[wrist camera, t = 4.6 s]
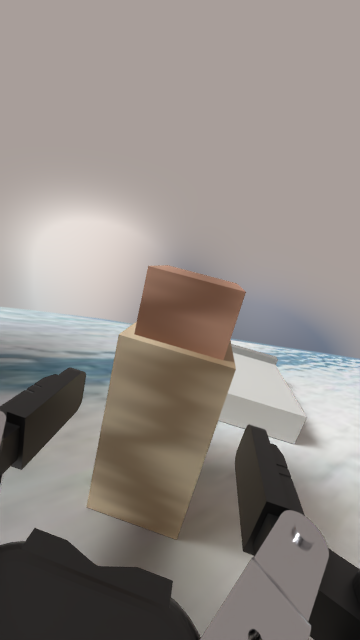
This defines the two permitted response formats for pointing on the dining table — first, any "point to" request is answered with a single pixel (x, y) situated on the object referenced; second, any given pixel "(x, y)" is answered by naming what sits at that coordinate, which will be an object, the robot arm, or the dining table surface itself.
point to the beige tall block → (165, 398)
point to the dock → (261, 397)
